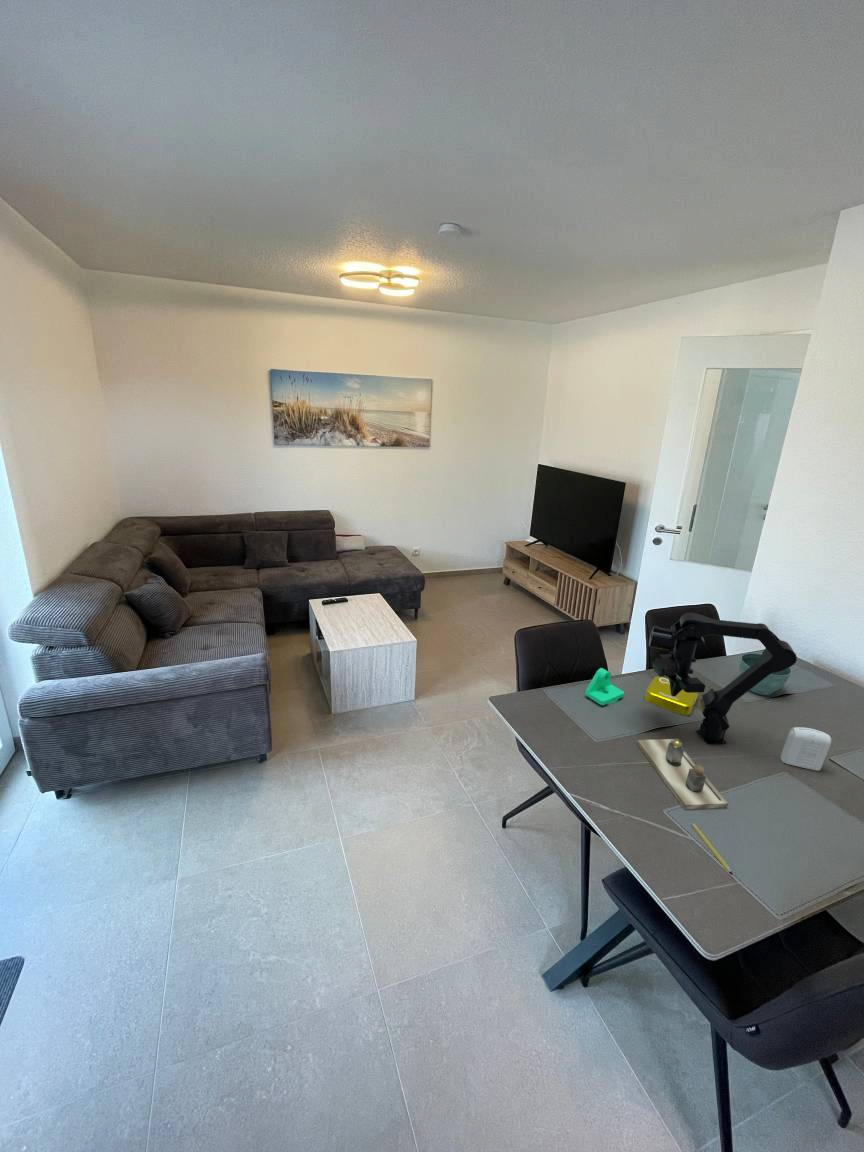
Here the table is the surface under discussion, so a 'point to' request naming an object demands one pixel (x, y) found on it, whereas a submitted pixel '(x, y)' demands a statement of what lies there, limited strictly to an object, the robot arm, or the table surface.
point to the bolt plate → (682, 777)
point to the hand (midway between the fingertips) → (673, 695)
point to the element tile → (669, 697)
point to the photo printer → (806, 748)
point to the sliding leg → (675, 751)
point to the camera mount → (603, 689)
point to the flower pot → (769, 682)
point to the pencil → (711, 848)
